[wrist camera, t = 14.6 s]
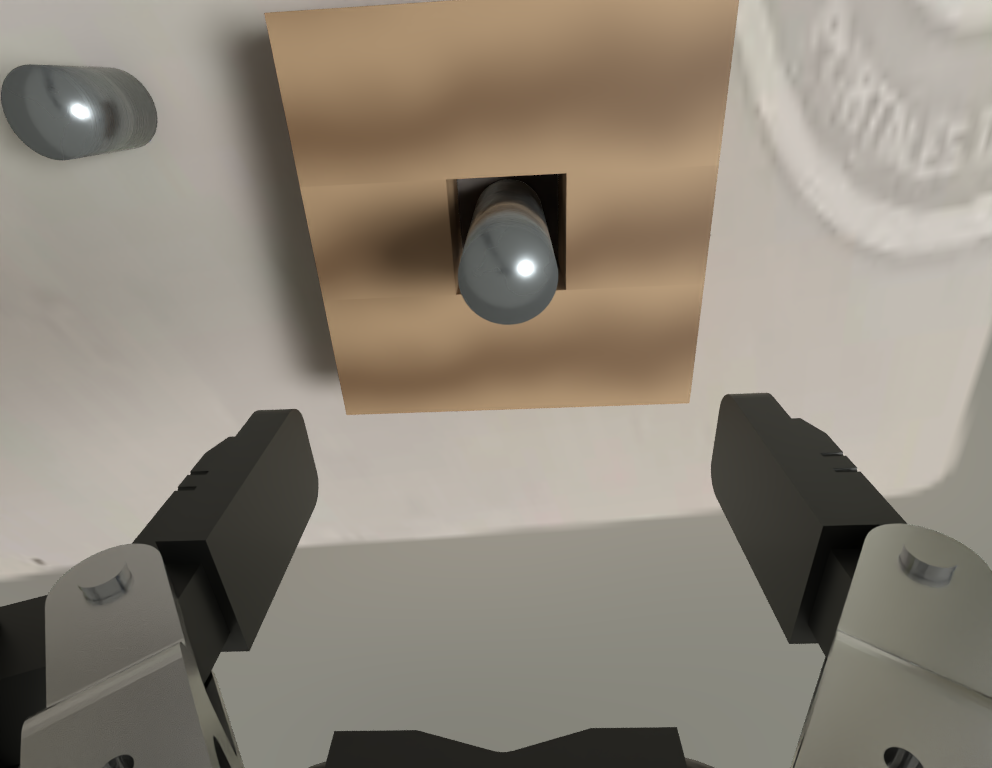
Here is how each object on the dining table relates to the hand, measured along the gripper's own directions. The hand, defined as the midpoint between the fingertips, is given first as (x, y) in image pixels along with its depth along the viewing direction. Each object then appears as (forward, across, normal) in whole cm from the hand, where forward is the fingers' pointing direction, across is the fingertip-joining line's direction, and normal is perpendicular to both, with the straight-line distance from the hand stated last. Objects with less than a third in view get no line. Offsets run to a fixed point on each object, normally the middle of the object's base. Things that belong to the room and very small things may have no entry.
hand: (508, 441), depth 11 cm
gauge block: (+22, 0, 0) cm, 22 cm away
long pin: (+22, 0, 0) cm, 22 cm away
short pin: (+22, +19, -6) cm, 29 cm away
